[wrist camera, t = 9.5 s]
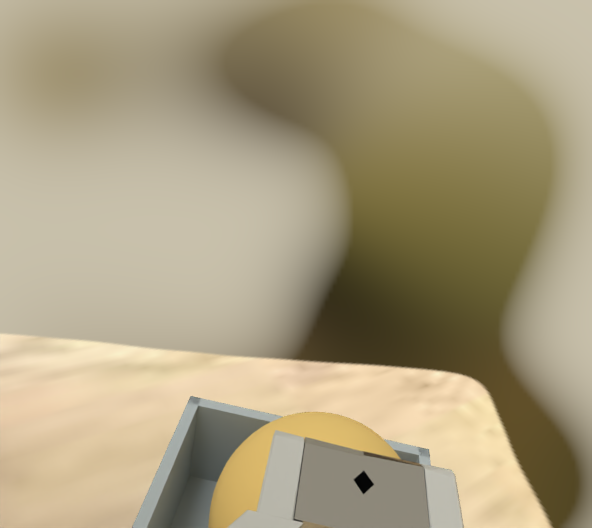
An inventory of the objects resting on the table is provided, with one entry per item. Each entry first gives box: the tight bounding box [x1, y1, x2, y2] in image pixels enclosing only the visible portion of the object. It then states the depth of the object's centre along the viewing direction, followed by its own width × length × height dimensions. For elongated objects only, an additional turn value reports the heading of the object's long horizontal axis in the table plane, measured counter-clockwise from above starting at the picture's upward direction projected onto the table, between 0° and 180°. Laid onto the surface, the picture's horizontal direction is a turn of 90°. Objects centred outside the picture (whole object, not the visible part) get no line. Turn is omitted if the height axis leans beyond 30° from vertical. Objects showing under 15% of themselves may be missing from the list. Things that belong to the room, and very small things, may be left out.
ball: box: [208, 412, 400, 528], centre depth 27 cm, size 10×10×10 cm
